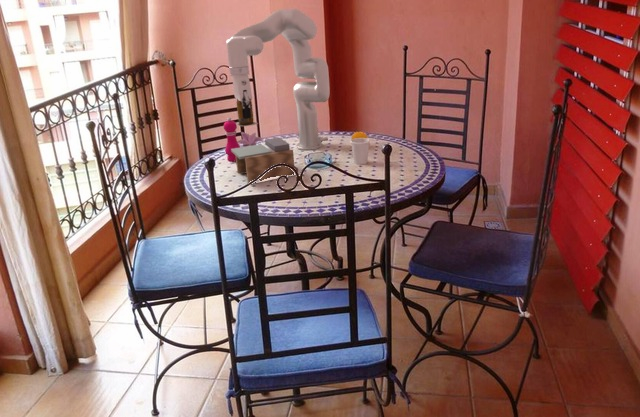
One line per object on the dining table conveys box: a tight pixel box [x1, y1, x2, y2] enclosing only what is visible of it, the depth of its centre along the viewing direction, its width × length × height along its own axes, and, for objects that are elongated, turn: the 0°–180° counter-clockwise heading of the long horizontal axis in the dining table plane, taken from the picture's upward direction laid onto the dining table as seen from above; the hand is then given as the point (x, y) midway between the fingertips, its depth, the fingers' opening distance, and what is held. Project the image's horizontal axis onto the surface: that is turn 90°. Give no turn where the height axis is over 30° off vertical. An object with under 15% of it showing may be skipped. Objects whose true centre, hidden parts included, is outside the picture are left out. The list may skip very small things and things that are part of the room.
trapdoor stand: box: [235, 142, 299, 184], centre depth 229 cm, size 21×18×11 cm
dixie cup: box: [350, 137, 370, 166], centre depth 236 cm, size 8×8×10 cm
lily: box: [237, 131, 264, 147], centre depth 268 cm, size 12×12×10 cm
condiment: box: [235, 97, 259, 127], centre depth 218 cm, size 7×8×12 cm
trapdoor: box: [231, 137, 291, 159], centre depth 227 cm, size 21×14×4 cm, turn 113°
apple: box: [350, 131, 369, 141], centre depth 260 cm, size 8×8×8 cm
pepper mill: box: [223, 117, 241, 163], centre depth 251 cm, size 7×7×20 cm
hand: (244, 116), depth 220 cm, fingers closed on condiment, 6 cm apart
